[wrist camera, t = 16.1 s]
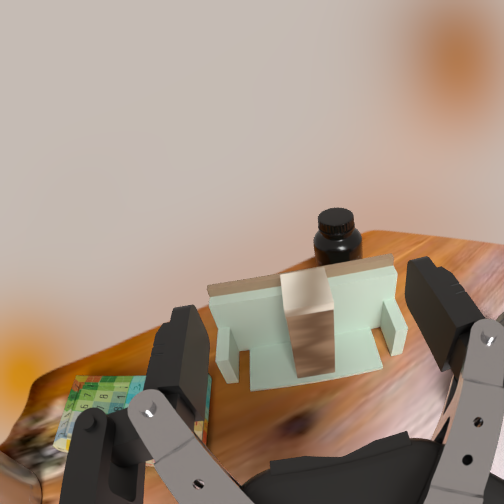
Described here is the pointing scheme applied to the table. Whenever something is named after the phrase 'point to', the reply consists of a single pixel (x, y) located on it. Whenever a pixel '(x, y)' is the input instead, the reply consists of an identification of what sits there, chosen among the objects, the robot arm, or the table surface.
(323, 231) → the supplement bottle
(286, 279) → the brown wooden block
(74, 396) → the puzzle game
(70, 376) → the table surface
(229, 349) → the mint green shelf
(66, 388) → the table surface
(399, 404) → the table surface
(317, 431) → the table surface
